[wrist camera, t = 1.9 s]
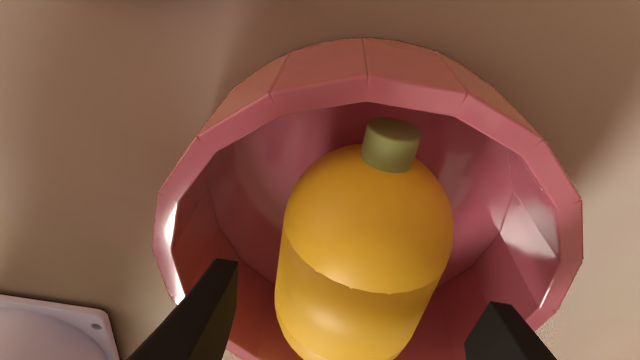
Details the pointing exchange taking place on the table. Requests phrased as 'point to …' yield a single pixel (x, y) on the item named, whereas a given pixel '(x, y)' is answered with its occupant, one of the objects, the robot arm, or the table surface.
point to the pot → (349, 128)
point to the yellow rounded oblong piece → (362, 248)
